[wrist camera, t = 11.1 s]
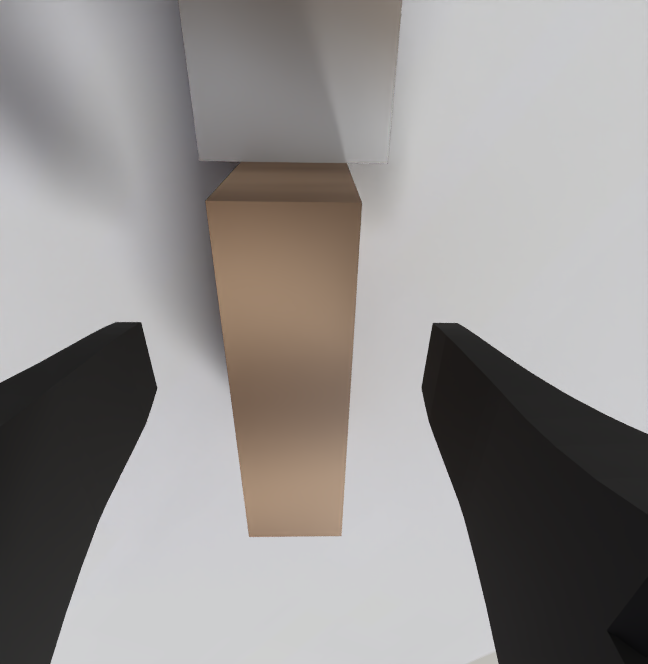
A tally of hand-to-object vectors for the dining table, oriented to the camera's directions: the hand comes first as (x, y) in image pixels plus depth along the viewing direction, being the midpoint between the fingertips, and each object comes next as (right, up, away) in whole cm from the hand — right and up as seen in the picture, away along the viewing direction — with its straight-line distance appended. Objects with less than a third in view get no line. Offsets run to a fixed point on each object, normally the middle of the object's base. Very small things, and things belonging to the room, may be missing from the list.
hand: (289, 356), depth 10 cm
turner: (0, +4, +2) cm, 4 cm away
